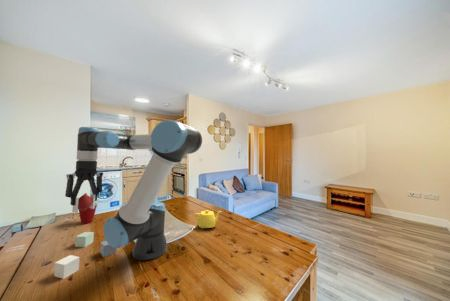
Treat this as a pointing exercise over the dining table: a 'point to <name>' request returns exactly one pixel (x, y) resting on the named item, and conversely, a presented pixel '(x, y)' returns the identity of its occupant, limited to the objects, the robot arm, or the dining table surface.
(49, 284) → the dining table surface
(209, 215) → the teapot
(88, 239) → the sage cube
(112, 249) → the slate cube
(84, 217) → the plastic cup
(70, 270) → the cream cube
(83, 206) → the onion
